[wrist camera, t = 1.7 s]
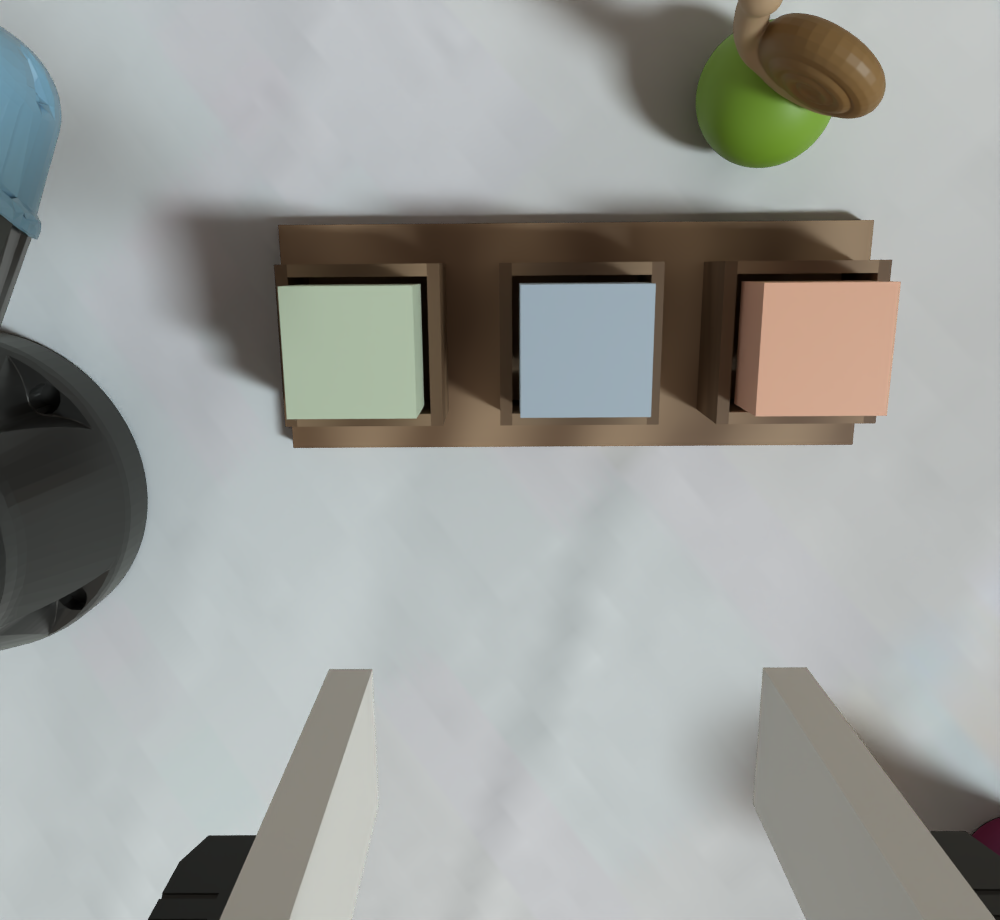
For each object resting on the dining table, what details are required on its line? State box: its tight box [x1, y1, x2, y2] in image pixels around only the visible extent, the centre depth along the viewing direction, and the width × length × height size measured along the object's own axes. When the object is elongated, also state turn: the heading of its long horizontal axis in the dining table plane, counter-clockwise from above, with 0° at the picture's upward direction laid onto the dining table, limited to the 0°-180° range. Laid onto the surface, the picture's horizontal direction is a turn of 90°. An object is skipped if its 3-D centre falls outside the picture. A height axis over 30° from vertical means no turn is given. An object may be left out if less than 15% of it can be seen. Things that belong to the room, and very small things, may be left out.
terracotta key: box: [734, 280, 901, 416], centre depth 32 cm, size 5×5×3 cm
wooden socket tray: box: [274, 220, 892, 448], centre depth 35 cm, size 26×10×5 cm, turn 90°
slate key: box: [519, 282, 656, 418], centre depth 32 cm, size 5×5×3 cm
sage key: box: [278, 284, 424, 419], centre depth 32 cm, size 5×5×3 cm
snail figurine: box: [696, 0, 886, 168], centre depth 29 cm, size 5×6×12 cm
